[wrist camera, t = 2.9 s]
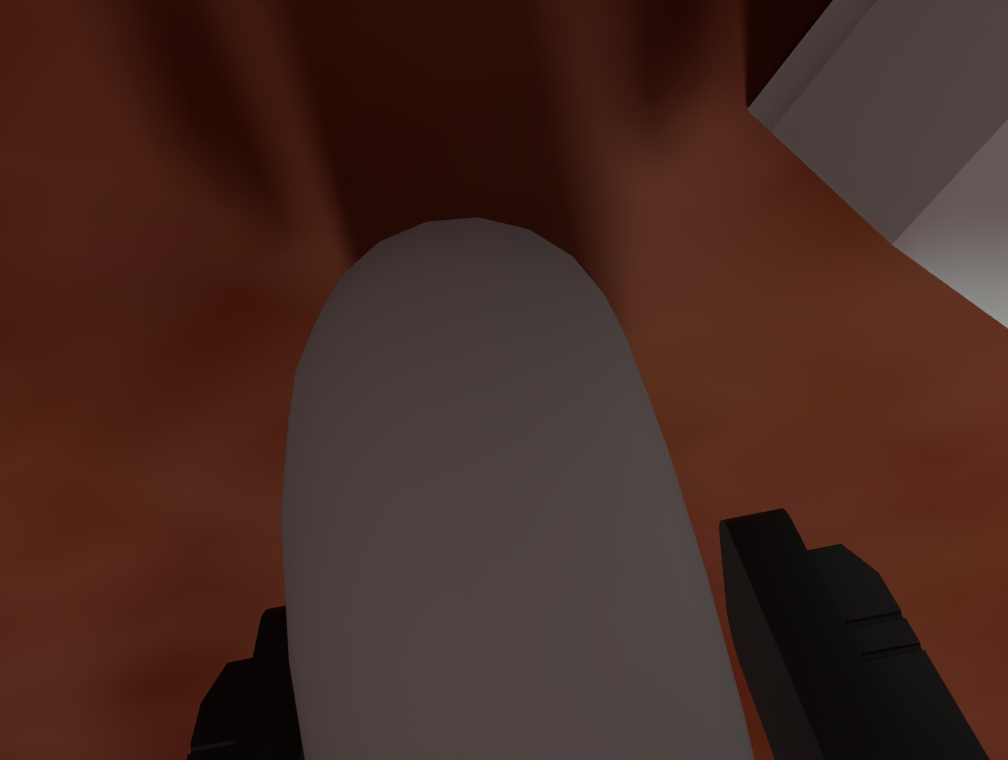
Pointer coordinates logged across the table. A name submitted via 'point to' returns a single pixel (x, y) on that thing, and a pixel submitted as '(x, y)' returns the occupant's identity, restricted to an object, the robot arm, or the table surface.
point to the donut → (490, 521)
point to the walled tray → (909, 129)
